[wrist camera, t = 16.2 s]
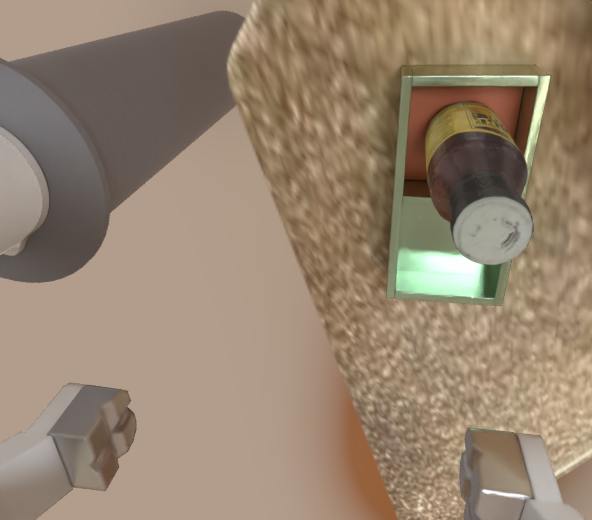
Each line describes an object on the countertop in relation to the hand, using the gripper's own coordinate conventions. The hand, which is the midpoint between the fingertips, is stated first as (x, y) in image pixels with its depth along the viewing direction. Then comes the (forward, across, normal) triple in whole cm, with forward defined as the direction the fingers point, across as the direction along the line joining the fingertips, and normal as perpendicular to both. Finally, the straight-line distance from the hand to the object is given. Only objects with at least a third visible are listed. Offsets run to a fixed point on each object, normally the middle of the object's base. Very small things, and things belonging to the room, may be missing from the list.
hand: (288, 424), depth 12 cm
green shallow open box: (+37, -8, +8) cm, 39 cm away
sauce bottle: (+36, -8, +3) cm, 37 cm away
